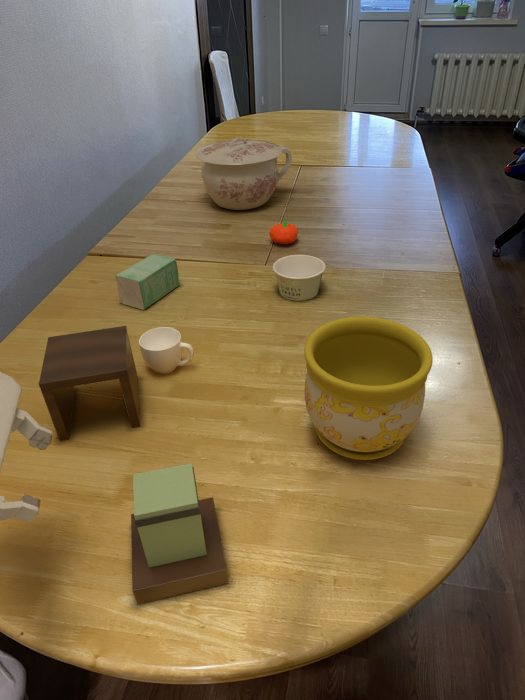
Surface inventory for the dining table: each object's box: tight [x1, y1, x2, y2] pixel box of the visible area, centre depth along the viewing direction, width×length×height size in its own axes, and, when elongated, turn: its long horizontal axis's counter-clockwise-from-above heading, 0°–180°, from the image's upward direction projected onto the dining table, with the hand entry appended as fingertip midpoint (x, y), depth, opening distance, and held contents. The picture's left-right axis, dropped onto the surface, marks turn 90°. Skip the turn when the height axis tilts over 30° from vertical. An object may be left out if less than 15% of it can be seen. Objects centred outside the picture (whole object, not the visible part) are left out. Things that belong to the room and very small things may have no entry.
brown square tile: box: [130, 496, 229, 605], centre depth 66 cm, size 11×11×3 cm
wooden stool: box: [38, 325, 141, 442], centre depth 87 cm, size 13×13×12 cm
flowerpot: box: [303, 316, 434, 461], centre depth 78 cm, size 18×18×16 cm
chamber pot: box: [194, 137, 293, 211], centre depth 165 cm, size 28×28×21 cm
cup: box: [138, 326, 195, 375], centre depth 97 cm, size 8×10×7 cm
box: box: [115, 253, 180, 311], centre depth 121 cm, size 7×14×8 cm, turn 150°
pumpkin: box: [268, 220, 299, 245], centre depth 142 cm, size 7×8×6 cm
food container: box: [272, 254, 326, 302], centre depth 120 cm, size 12×12×6 cm
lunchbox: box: [132, 462, 207, 568], centre depth 62 cm, size 6×7×10 cm
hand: (43, 474), depth 53 cm, fingers open, 8 cm apart
